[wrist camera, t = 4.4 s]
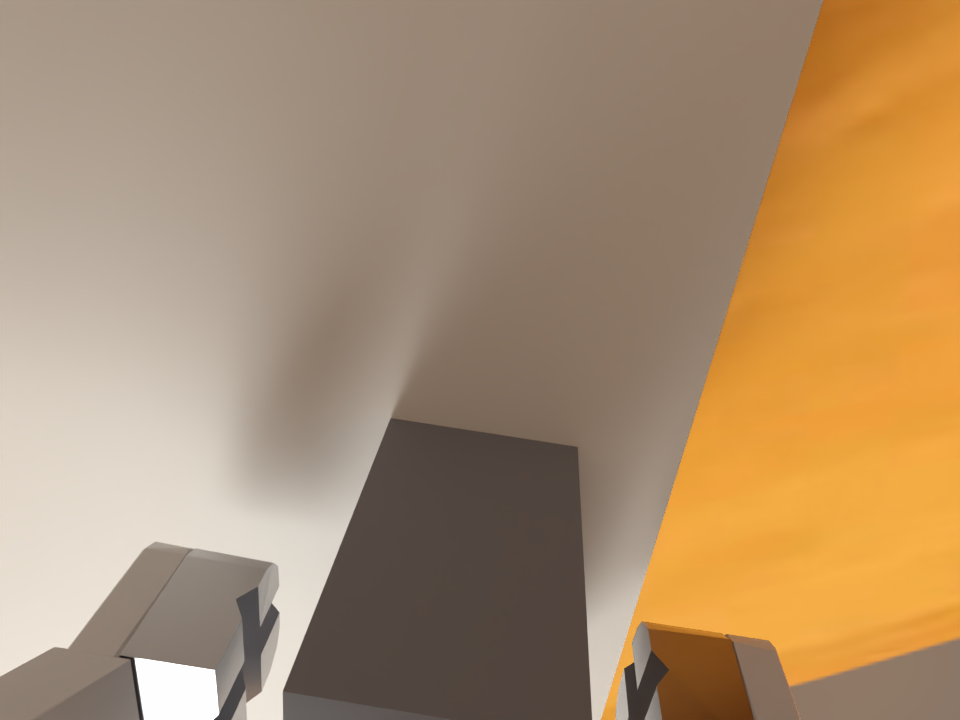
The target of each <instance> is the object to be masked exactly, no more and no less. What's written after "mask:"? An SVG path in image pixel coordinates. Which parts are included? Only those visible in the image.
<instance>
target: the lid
mask: <svg viewBox="0 0 960 720" xmlns="http://www.w3.org/2000/svg"><path fill="white" fill-rule="evenodd" d="M822 3H823V0H0V676H2V675H4V674H5V673H7V672H9V671H11V670H13V669H15V668H16V667H18V666H20V665H22V664H24V663H26V662H28V661H29V660H31V659H33V658H35V657H37V656H39V655H40V654H42V653H44V652H46V651H48V650H50V649H51V648H53V647H60V648H67V649H68V647H69V646H70V645H71V643H72V642H73V641H74V640H75V638H76V637H77V636H78V634H79V633H80V632H81V630H82V629H83V628H84V626H85V625H86V624H87V622H88V621H89V620H90V619H91V617H92V616H93V615H94V613H95V612H96V611H97V609H98V608H99V607H100V605H101V604H102V603H103V601H104V600H105V599H106V597H107V596H108V595H109V594H110V592H111V591H112V590H113V588H114V587H115V586H116V584H117V583H118V582H119V580H120V579H121V578H122V576H123V575H124V574H125V572H126V571H127V570H128V569H129V567H130V566H131V565H132V563H133V562H134V561H135V559H136V558H137V557H138V555H139V554H140V553H141V551H142V550H143V549H145V548H146V547H148V546H149V545H151V544H152V543H154V542H155V541H156V542H161V543H166V544H172V545H177V546H182V547H188V548H193V549H195V548H197V549H203V550H208V551H213V552H218V553H224V554H229V555H234V556H240V557H245V558H250V559H256V560H261V561H266V562H272V563H274V564H276V565H277V566H278V571H279V588H278V590H277V592H276V594H275V597H274V599H273V601H272V604H273V605H274V606H275V607H276V609H277V610H278V611H279V612H280V629H279V636H278V644H277V648H276V652H275V656H274V659H273V663H272V667H271V670H270V673H269V675H268V678H267V680H266V683H265V685H264V687H263V690H262V692H261V693H259V694H258V695H257V696H255V697H254V698H253V699H251V700H250V701H248V702H247V703H246V707H247V720H601V717H602V714H603V711H604V707H605V704H606V701H607V698H608V694H609V691H610V688H611V685H612V682H613V678H614V675H615V672H616V669H617V665H618V662H619V659H620V656H621V652H622V649H623V646H624V643H625V640H626V636H627V633H628V630H629V627H630V623H631V620H632V617H633V614H634V610H635V607H636V604H637V601H638V598H639V594H640V591H641V588H642V585H643V581H644V578H645V575H646V572H647V568H648V565H649V562H650V559H651V556H652V552H653V549H654V546H655V543H656V539H657V536H658V533H659V530H660V526H661V523H662V520H663V517H664V514H665V510H666V507H667V504H668V501H669V497H670V494H671V491H672V488H673V484H674V481H675V478H676V475H677V471H678V468H679V465H680V462H681V459H682V455H683V452H684V449H685V446H686V442H687V439H688V436H689V433H690V429H691V426H692V423H693V420H694V417H695V413H696V410H697V407H698V404H699V400H700V397H701V394H702V391H703V387H704V384H705V381H706V378H707V375H708V371H709V368H710V365H711V362H712V358H713V355H714V352H715V349H716V345H717V342H718V339H719V336H720V333H721V329H722V326H723V323H724V320H725V316H726V313H727V310H728V307H729V303H730V300H731V297H732V294H733V291H734V287H735V284H736V281H737V278H738V274H739V271H740V268H741V265H742V261H743V258H744V255H745V252H746V248H747V245H748V242H749V239H750V236H751V232H752V229H753V226H754V223H755V219H756V216H757V213H758V210H759V206H760V203H761V200H762V197H763V194H764V190H765V187H766V184H767V181H768V177H769V174H770V171H771V168H772V164H773V161H774V158H775V155H776V152H777V148H778V145H779V142H780V139H781V135H782V132H783V129H784V126H785V122H786V119H787V116H788V113H789V110H790V106H791V103H792V100H793V97H794V93H795V90H796V87H797V84H798V80H799V77H800V74H801V71H802V68H803V64H804V61H805V58H806V55H807V51H808V48H809V45H810V42H811V38H812V35H813V32H814V29H815V25H816V22H817V19H818V16H819V13H820V9H821V6H822Z"/></svg>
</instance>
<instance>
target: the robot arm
mask: <svg viewBox="0 0 960 720" xmlns="http://www.w3.org/2000/svg"><path fill="white" fill-rule="evenodd" d="M278 588H279V571H278V566H277V565H276V564H274V563H272V562H266V561H261V560H256V559H250V558H245V557H240V556H234V555H229V554H224V553H218V552H213V551H208V550H203V549H197V548H195V549H193V548H188V547H182V546H177V545H172V544H166V543H161V542H156V541H155V542H154V543H152V544H151V545H149V546H148V547H146V548H145V549H143V550H142V551H141V553H140V554H139V555H138V557H137V558H136V559H135V561H134V562H133V563H132V565H131V566H130V567H129V569H128V570H127V571H126V572H125V574H124V575H123V576H122V578H121V579H120V580H119V582H118V583H117V584H116V586H115V587H114V588H113V590H112V591H111V592H110V594H109V595H108V596H107V597H106V599H105V600H104V601H103V603H102V604H101V605H100V607H99V608H98V609H97V611H96V612H95V613H94V615H93V616H92V617H91V619H90V620H89V621H88V622H87V624H86V625H85V626H84V628H83V629H82V630H81V632H80V633H79V634H78V636H77V637H76V638H75V640H74V641H73V642H72V643H71V645H70V646H69V647H68V649H67V648H60V647H53V648H51V649H50V650H48V651H46V652H44V653H42V654H40V655H39V656H37V657H35V658H33V659H31V660H29V661H28V662H26V663H24V664H22V665H20V666H18V667H16V668H15V669H13V670H11V671H9V672H7V673H5V674H4V675H2V676H0V720H247V707H246V703H247V702H248V701H250V700H251V699H253V698H254V697H255V696H257V695H258V694H259V693H261V692H262V690H263V687H264V685H265V683H266V680H267V678H268V675H269V673H270V670H271V667H272V663H273V659H274V656H275V652H276V648H277V644H278V636H279V629H280V612H279V611H278V610H277V609H276V607H275V606H274V605H273V604H272V601H273V599H274V597H275V594H276V592H277V590H278ZM632 646H633V655H634V663H632V664H631V665H629V666H628V667H626V668H625V669H624V671H623V675H622V678H621V682H620V685H619V690H618V698H617V706H616V720H801V719H800V716H799V713H798V711H797V708H796V705H795V702H794V699H793V696H792V693H791V690H790V688H789V685H788V682H787V679H786V676H785V673H784V671H783V668H782V665H781V662H780V659H779V657H778V654H777V651H776V648H775V647H774V646H773V645H772V644H771V643H770V641H768V640H761V639H755V638H748V637H742V636H735V635H729V634H726V635H723V634H722V633H716V632H709V631H703V630H696V629H689V628H683V627H676V626H669V625H663V624H656V623H649V622H643V621H642V622H641V624H640V625H639V627H638V628H637V630H636V633H635V636H634V639H633V642H632Z"/></svg>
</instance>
